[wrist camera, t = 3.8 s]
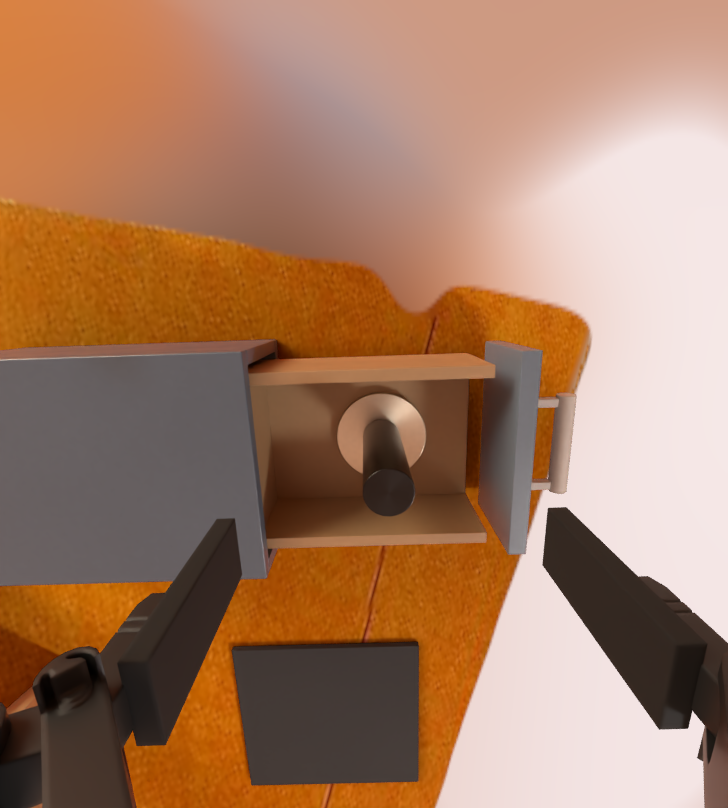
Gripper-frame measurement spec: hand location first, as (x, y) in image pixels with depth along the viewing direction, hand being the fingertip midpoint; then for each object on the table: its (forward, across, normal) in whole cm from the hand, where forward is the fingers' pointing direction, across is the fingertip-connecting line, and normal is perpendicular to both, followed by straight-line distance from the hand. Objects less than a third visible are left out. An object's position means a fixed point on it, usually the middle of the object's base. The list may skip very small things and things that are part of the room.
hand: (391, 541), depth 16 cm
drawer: (+15, +2, 0) cm, 15 cm away
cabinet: (+16, -18, 0) cm, 24 cm away
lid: (+14, 0, 0) cm, 14 cm away
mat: (+16, -6, -31) cm, 35 cm away
